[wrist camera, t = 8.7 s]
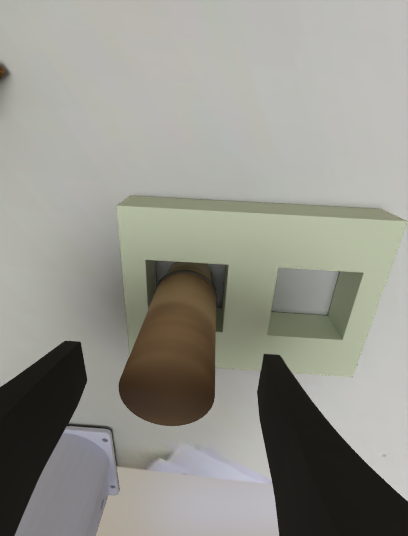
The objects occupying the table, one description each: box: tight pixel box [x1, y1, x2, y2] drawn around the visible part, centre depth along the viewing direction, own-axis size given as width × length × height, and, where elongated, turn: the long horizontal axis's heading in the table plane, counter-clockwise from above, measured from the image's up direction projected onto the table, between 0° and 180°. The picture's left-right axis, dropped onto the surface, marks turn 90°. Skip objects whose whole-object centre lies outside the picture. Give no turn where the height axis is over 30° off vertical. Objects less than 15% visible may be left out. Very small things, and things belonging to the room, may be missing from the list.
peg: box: [119, 262, 217, 426], centre depth 14 cm, size 4×4×9 cm
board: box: [116, 196, 408, 377], centre depth 17 cm, size 10×14×2 cm
